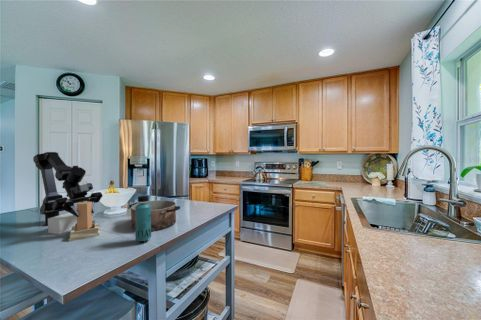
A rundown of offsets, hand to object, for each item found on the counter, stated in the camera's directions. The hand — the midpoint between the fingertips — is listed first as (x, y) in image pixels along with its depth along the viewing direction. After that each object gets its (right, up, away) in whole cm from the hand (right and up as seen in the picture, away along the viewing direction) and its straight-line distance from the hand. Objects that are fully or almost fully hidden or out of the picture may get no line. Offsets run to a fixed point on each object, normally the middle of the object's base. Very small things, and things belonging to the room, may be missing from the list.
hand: (86, 214), depth 94 cm
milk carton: (-17, -6, +1) cm, 18 cm away
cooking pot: (+26, -10, +15) cm, 31 cm away
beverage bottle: (+30, -10, -6) cm, 32 cm away
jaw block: (-1, -7, +1) cm, 7 cm away
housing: (-2, -10, +2) cm, 10 cm away
